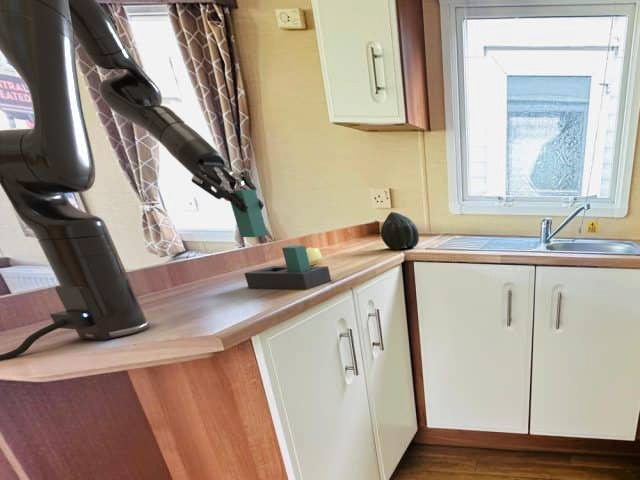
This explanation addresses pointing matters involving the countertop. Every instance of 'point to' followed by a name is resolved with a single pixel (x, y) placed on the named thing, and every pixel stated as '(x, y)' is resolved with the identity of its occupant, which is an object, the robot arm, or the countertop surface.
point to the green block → (249, 215)
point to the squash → (399, 232)
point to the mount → (287, 278)
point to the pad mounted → (296, 258)
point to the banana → (312, 256)
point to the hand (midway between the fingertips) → (253, 208)
